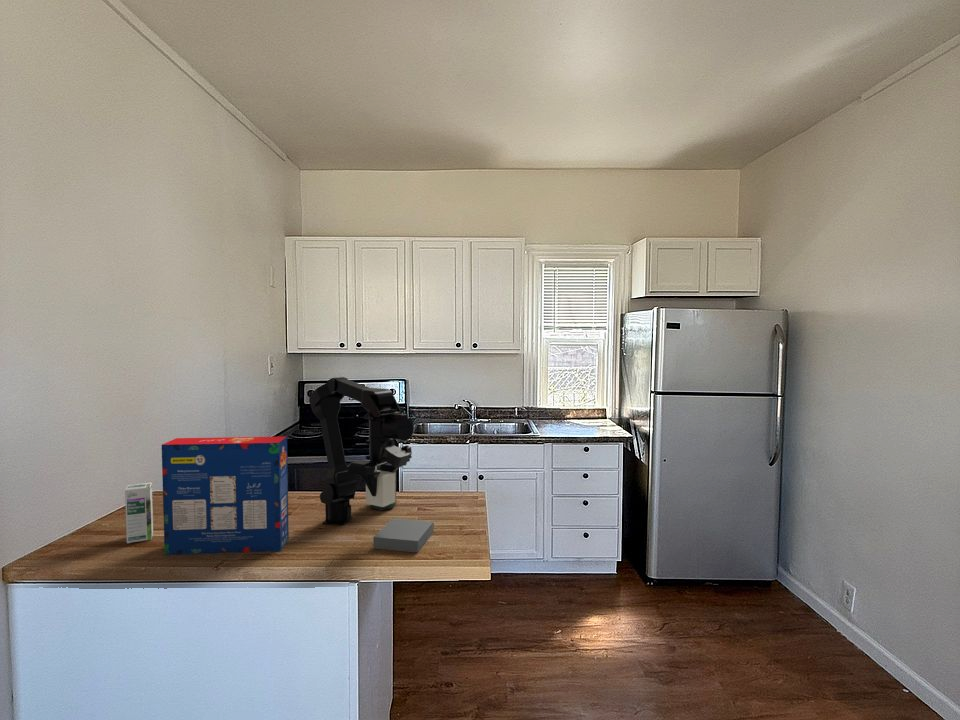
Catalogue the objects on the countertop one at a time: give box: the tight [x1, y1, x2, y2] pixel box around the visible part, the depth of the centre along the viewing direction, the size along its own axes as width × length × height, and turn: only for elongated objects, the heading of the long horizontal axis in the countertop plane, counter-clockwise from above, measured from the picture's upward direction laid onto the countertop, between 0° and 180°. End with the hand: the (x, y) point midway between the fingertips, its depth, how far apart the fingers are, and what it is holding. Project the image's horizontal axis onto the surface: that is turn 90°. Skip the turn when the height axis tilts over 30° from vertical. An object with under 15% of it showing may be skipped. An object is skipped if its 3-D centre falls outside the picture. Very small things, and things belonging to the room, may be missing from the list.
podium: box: [373, 518, 435, 554], centre depth 142 cm, size 12×14×3 cm
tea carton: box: [365, 470, 395, 507], centre depth 142 cm, size 6×5×8 cm
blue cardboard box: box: [161, 435, 290, 556], centre depth 136 cm, size 28×8×28 cm, turn 96°
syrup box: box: [124, 481, 154, 544], centre depth 142 cm, size 6×6×14 cm
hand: (380, 493), depth 142 cm, fingers closed on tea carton, 5 cm apart
